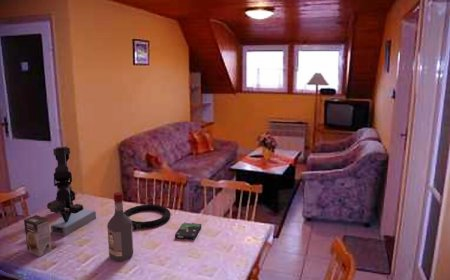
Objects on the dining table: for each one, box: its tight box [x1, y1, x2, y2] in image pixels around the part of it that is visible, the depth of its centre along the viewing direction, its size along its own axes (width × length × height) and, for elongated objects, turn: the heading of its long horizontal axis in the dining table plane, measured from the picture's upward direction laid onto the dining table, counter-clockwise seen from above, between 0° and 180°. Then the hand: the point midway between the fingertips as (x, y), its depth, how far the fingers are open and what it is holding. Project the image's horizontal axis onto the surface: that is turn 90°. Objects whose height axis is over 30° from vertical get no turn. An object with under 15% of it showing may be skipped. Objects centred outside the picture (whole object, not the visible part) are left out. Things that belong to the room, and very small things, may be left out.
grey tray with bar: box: [50, 211, 97, 237], centre depth 188 cm, size 9×23×4 cm, turn 160°
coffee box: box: [23, 214, 52, 257], centre depth 161 cm, size 9×6×16 cm
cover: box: [50, 208, 96, 228], centre depth 188 cm, size 9×22×1 cm, turn 160°
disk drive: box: [174, 222, 202, 241], centre depth 182 cm, size 10×3×15 cm
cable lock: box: [124, 204, 171, 232], centre depth 197 cm, size 28×4×30 cm
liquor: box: [106, 191, 134, 263], centre depth 156 cm, size 9×9×30 cm
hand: (66, 222), depth 182 cm, fingers closed, pressing on cover
